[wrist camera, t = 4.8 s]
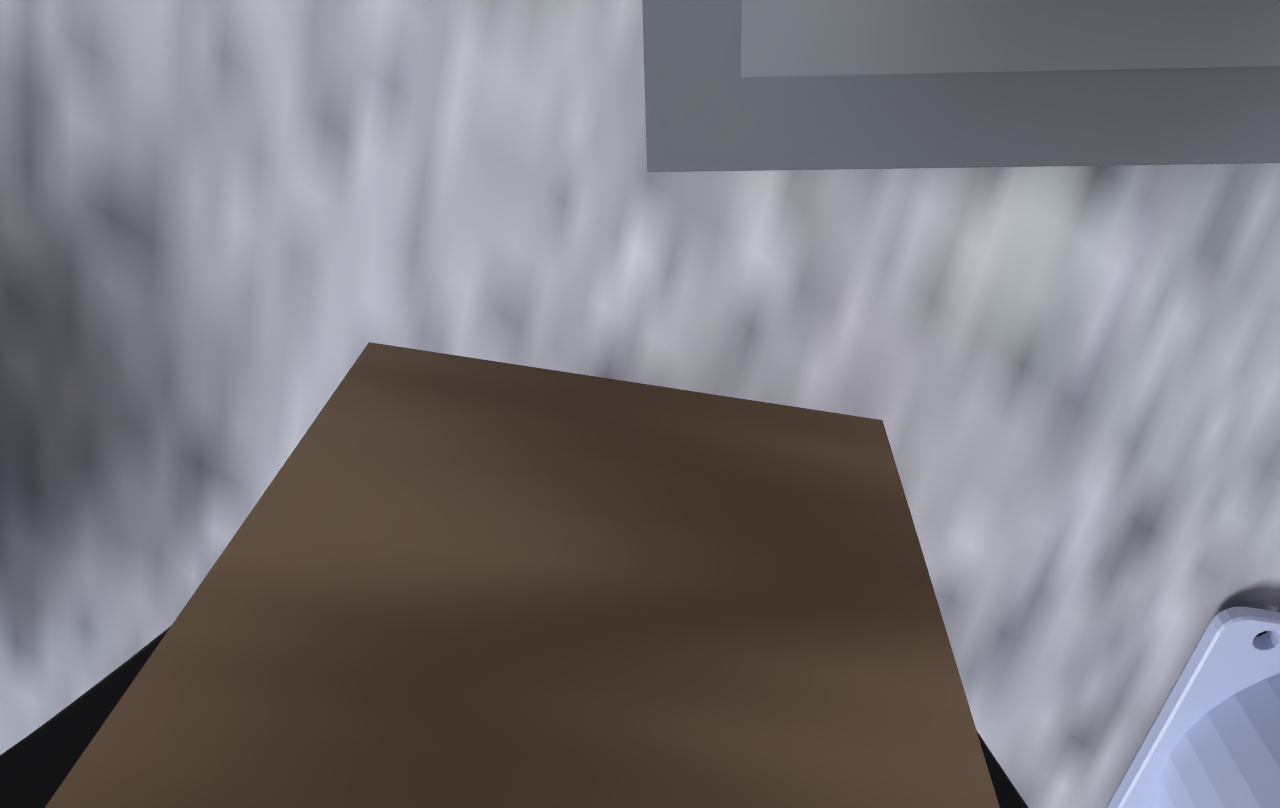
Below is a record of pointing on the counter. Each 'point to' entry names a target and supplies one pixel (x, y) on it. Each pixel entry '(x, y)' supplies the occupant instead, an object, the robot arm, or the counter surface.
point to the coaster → (959, 83)
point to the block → (554, 614)
